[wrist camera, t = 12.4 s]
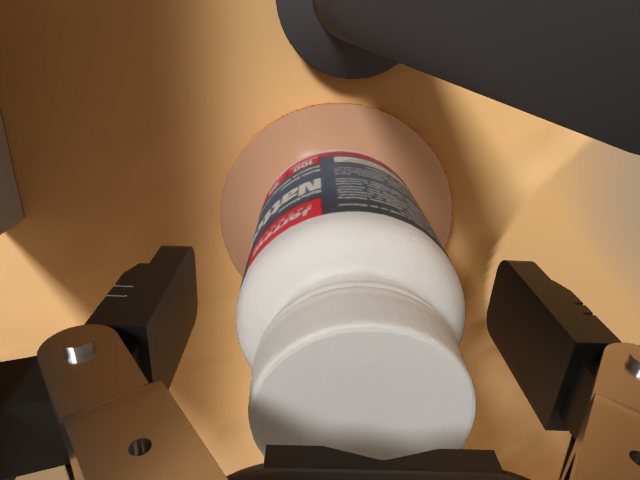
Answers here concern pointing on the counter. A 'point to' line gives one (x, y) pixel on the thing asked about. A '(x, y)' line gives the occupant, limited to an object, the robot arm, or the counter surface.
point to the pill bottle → (352, 315)
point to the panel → (8, 188)
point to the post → (491, 52)
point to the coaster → (324, 134)
